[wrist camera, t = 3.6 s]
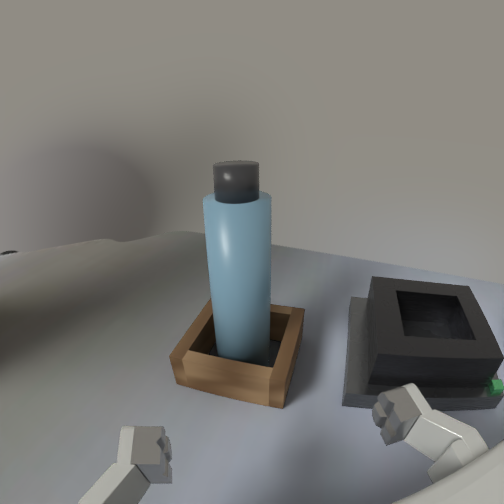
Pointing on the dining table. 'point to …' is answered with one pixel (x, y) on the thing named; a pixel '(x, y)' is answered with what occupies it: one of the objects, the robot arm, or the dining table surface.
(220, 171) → the blue bottle
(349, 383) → the port
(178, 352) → the wooden square frame
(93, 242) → the dining table surface
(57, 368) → the dining table surface
